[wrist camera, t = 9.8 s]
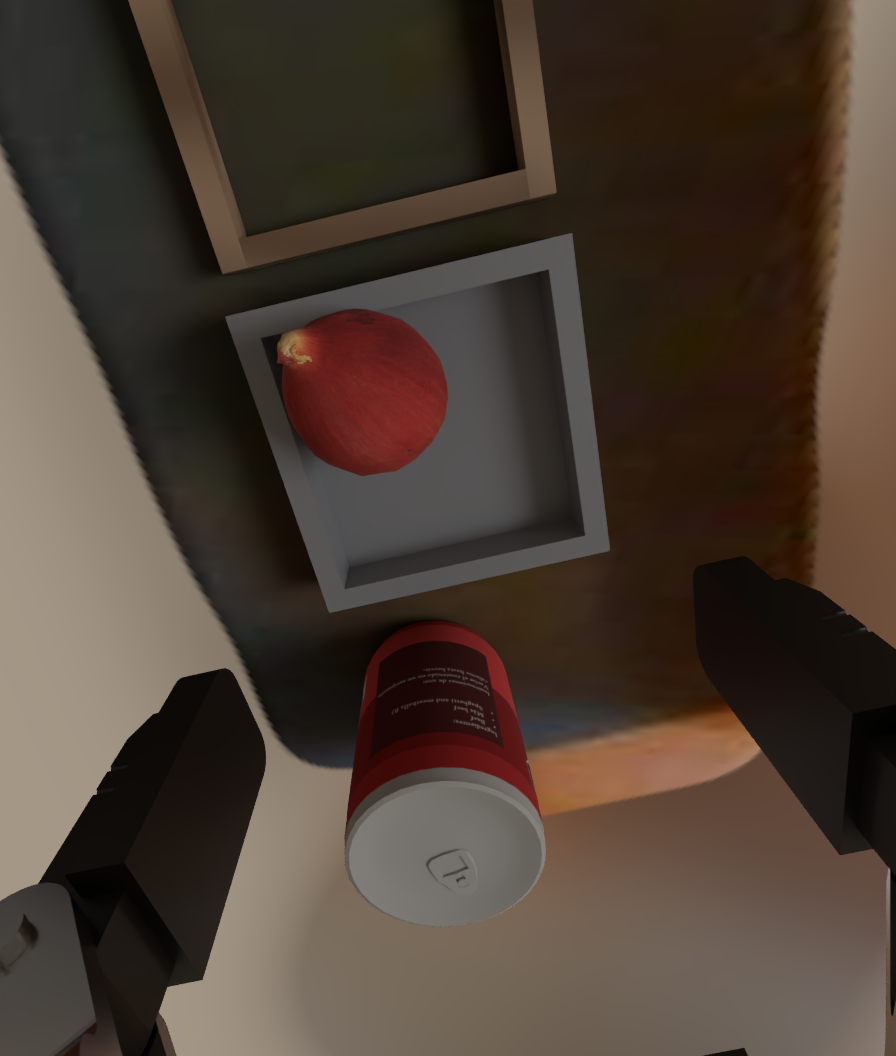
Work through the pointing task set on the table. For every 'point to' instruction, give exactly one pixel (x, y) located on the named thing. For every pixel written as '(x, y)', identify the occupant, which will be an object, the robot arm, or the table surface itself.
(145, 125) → the table surface
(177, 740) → the robot arm
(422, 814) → the canned food
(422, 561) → the bin
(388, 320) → the onion
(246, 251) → the square frame
